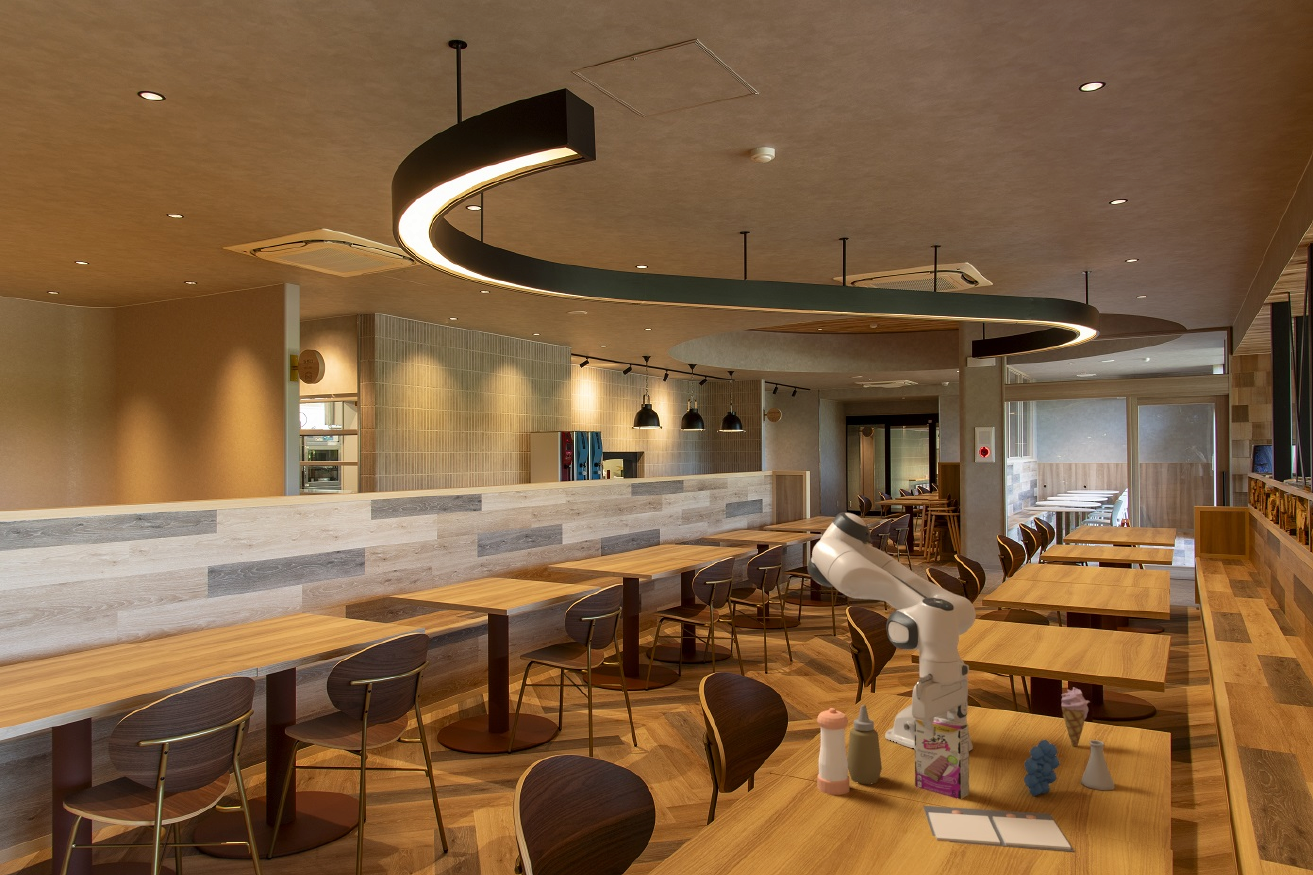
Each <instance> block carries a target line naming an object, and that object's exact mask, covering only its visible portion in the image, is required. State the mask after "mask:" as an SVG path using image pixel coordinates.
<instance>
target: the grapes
mask: <svg viewBox="0 0 1313 875" xmlns="http://www.w3.org/2000/svg"><path fill="white" fill-rule="evenodd" d="M1029 754H1030V756H1029V757H1027V759H1026V760H1024V764H1023V765H1024V766H1023V767H1024V769H1025V772H1027V774H1026V775H1025V776H1024V777H1023V781H1024V784H1025V785H1026V787H1027V788H1028V790H1029V793H1030V794H1031V796H1034V797H1037V796H1039V795H1040V794H1041V795H1045V794H1047V793H1048V792H1049V791H1050V790H1051V787H1050V786H1051V785H1050V784H1053V783H1055V781H1057V779H1058V778H1057V774H1056V772H1055V770H1056V769H1058V767H1059V766H1060V765H1061V764H1060V759H1059V758H1058V756H1057V755H1058V748H1057V747H1056V744H1054V743H1050V742H1049V741H1048V740H1047V739H1042V740H1041V741H1039V742H1038V744H1037V745H1035V746H1033V747H1031V749H1030V750H1029Z"/></svg>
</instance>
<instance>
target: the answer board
mask: <svg viewBox="0 0 1313 875" xmlns="http://www.w3.org/2000/svg"><path fill="white" fill-rule="evenodd" d="M923 809H924V813H925V817H926V819H927V821H928V825H929V829H930V831H931V834H932V836H933V837H935V839H936V841H941V842H942V841H944V842H949V843H954V844H955V843H956V844H968V845H980V846H981V845H982V846H990V847H991V846H994V847H1005V848H1016V849H1019V848H1020V849H1029V850H1030V849H1031V850H1041V851H1043V850H1044V851H1057V852H1065V853H1066V852H1067V853H1068V852H1069V853H1075V850H1074V848H1073V847H1072V845H1071V843H1070V842H1069V841H1068V839H1067V838H1066V836H1065V834H1064V833H1063V831H1062V830H1061V828H1060V827H1059V826H1058V824H1057V822H1056V820H1055V819H1054V818H1053V816H1052V815H1051V813H1046V812H1045V813H1042V812H1028V811H1027V812H1026V811H1011V810H997V809H996V810H993V809H980V808H979V809H978V808H967V807H966V808H965V807H949V806H947V807H946V806H936V805H935V806H932V805H923Z"/></svg>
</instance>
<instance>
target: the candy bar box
mask: <svg viewBox="0 0 1313 875" xmlns="http://www.w3.org/2000/svg"><path fill="white" fill-rule="evenodd" d="M932 723H933V727H934V728H936V732H935V733H936V735H935V736H933V737H928V736H926V734H925V727H924V725H923V722H922V720H919V719H915V749H914V786H916V788H918V787H919V788H918V789H922V790H925V791H930V792H933V793H936V794H941V795H944V796H948V797H950V798H955V799H957V798H958V800H961V798H962V799H963V798H966V797H967V796H968V795H969V794H970V767H969V766H970V765H969V764H970V762H969V761H970V759H969V758H970V755H969V754H970V753H969V752H970V751H969V743H968V742H969V735H970V731H969V732H968V730H969V724H968V723H967V724H965V723H960V722H956V721H951V720H947V719H943V718H938V717H934V722H932Z"/></svg>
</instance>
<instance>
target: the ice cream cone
mask: <svg viewBox="0 0 1313 875" xmlns="http://www.w3.org/2000/svg"><path fill="white" fill-rule="evenodd" d="M1066 690H1067V692H1066V693H1062V694H1061V697H1062V698H1061V705H1060V706H1061V711H1062V715H1063V719H1064V722H1065V725H1066V726H1065V727H1066V729H1067V734H1068V737H1069V740H1070V743H1071V746H1073V747H1078V746H1079V742H1080V740H1081V736H1082V732H1083V729H1084V724H1085V721H1086V719H1087V716H1088V712H1089V707H1088V704H1089V703H1091V701H1090V700H1088V699H1087V700H1086V699H1085V697H1084V695H1083V692H1082V690H1081V689H1078V688H1077V687H1072V689H1066Z"/></svg>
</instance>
